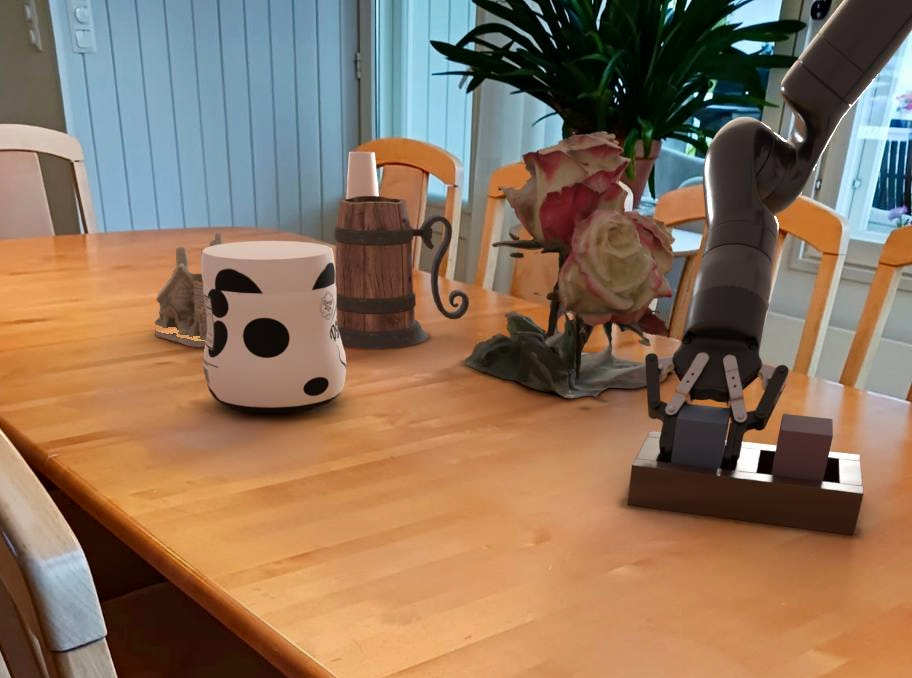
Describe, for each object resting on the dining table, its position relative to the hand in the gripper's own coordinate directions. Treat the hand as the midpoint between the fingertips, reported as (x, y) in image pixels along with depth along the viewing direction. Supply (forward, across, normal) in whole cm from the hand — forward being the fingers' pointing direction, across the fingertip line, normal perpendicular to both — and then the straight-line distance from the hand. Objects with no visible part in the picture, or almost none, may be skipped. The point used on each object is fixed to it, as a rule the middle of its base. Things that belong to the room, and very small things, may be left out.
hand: (697, 459), depth 93 cm
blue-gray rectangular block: (+2, 0, +4) cm, 4 cm away
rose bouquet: (-29, -20, +35) cm, 49 cm away
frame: (+2, +5, +4) cm, 6 cm away
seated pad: (+2, +9, +4) cm, 10 cm away
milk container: (-7, -52, +13) cm, 55 cm away
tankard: (-36, -53, +42) cm, 77 cm away
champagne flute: (-62, -73, +68) cm, 117 cm away
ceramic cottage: (-28, -81, +34) cm, 92 cm away
